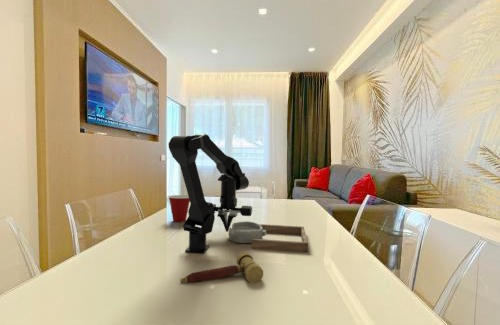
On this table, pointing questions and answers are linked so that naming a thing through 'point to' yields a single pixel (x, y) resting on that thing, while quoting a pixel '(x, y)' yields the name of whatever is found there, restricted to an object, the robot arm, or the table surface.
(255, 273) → the gavel
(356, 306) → the table surface
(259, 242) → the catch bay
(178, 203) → the plastic cup
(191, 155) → the robot arm
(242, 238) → the dish
